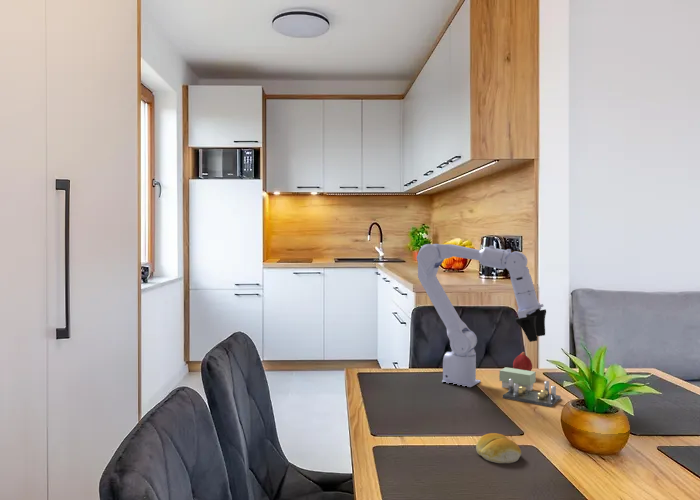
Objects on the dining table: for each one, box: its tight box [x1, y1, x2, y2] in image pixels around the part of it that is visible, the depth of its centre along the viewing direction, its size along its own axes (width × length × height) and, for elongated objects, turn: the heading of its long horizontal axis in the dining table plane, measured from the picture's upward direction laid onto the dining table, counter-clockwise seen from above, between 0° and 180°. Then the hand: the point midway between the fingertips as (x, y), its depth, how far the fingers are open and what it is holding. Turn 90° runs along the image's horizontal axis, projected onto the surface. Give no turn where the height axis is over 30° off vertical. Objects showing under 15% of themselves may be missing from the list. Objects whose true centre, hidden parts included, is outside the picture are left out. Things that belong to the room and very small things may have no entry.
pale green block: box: [498, 366, 537, 386], centre depth 153 cm, size 9×5×3 cm, turn 53°
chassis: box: [502, 379, 562, 408], centre depth 143 cm, size 13×9×4 cm
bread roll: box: [475, 432, 522, 464], centre depth 106 cm, size 8×9×4 cm
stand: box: [501, 381, 534, 391], centre depth 153 cm, size 8×3×2 cm, turn 53°
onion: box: [512, 351, 533, 371], centre depth 166 cm, size 6×6×8 cm
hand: (537, 338), depth 149 cm, fingers open, 7 cm apart
